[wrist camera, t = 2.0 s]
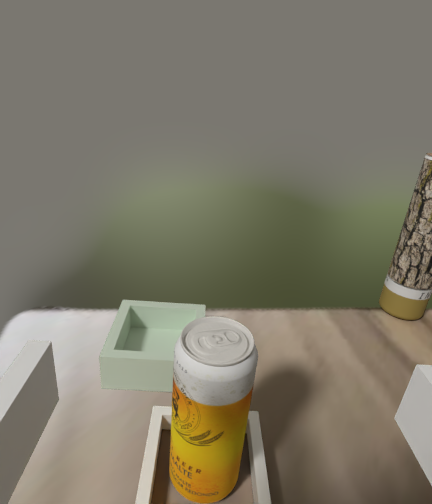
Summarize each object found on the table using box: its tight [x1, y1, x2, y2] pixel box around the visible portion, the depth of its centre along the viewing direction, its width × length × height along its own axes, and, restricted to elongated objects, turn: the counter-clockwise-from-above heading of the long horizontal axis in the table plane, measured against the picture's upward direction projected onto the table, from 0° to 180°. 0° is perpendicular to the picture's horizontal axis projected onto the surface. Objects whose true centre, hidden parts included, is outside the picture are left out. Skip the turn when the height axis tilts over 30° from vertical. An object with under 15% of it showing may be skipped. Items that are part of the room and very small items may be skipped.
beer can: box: [169, 316, 258, 504], centre depth 29 cm, size 6×6×15 cm
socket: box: [99, 300, 205, 392], centre depth 44 cm, size 11×11×4 cm
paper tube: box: [379, 153, 432, 320], centre depth 54 cm, size 7×7×25 cm
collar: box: [135, 406, 271, 504], centre depth 31 cm, size 10×10×2 cm
